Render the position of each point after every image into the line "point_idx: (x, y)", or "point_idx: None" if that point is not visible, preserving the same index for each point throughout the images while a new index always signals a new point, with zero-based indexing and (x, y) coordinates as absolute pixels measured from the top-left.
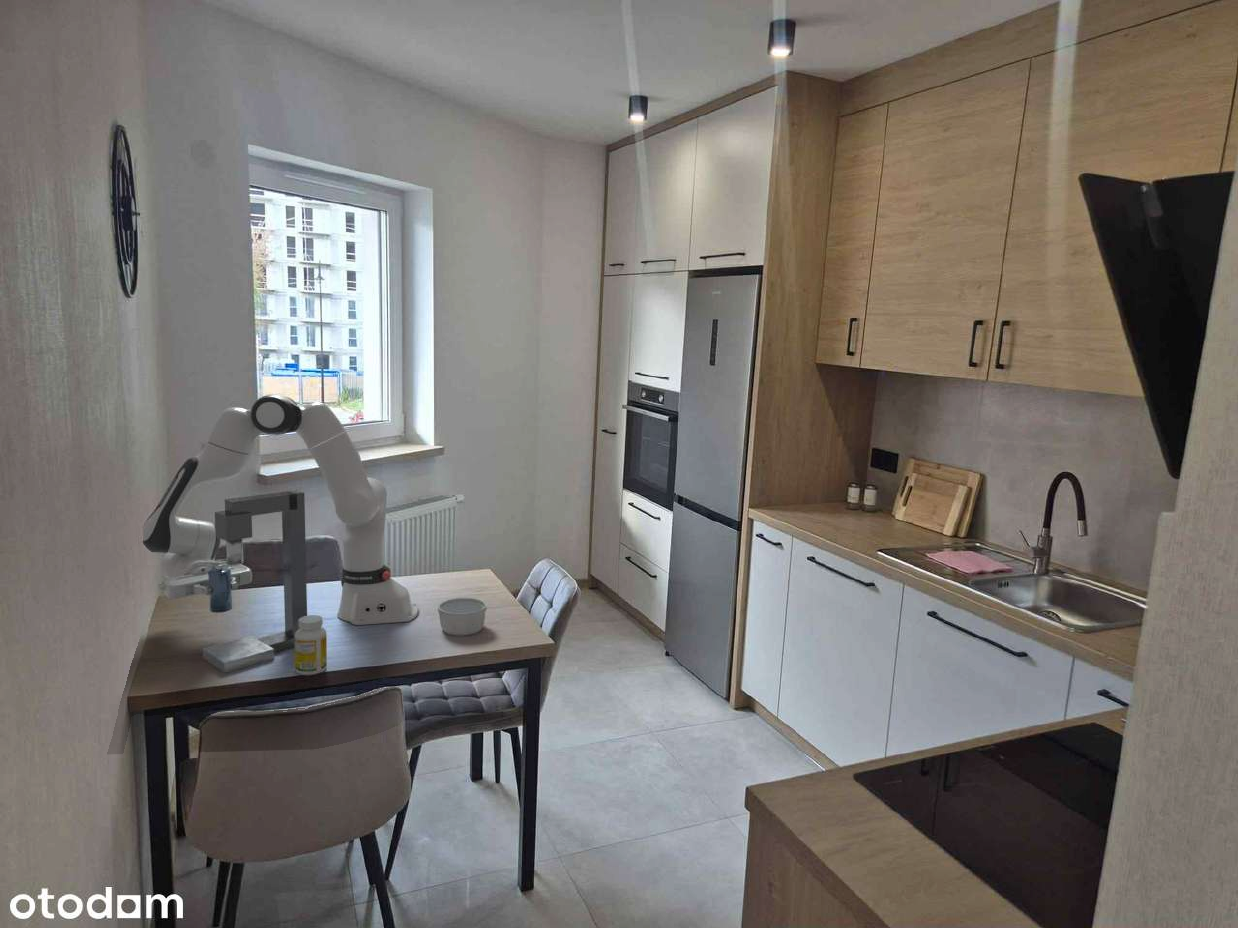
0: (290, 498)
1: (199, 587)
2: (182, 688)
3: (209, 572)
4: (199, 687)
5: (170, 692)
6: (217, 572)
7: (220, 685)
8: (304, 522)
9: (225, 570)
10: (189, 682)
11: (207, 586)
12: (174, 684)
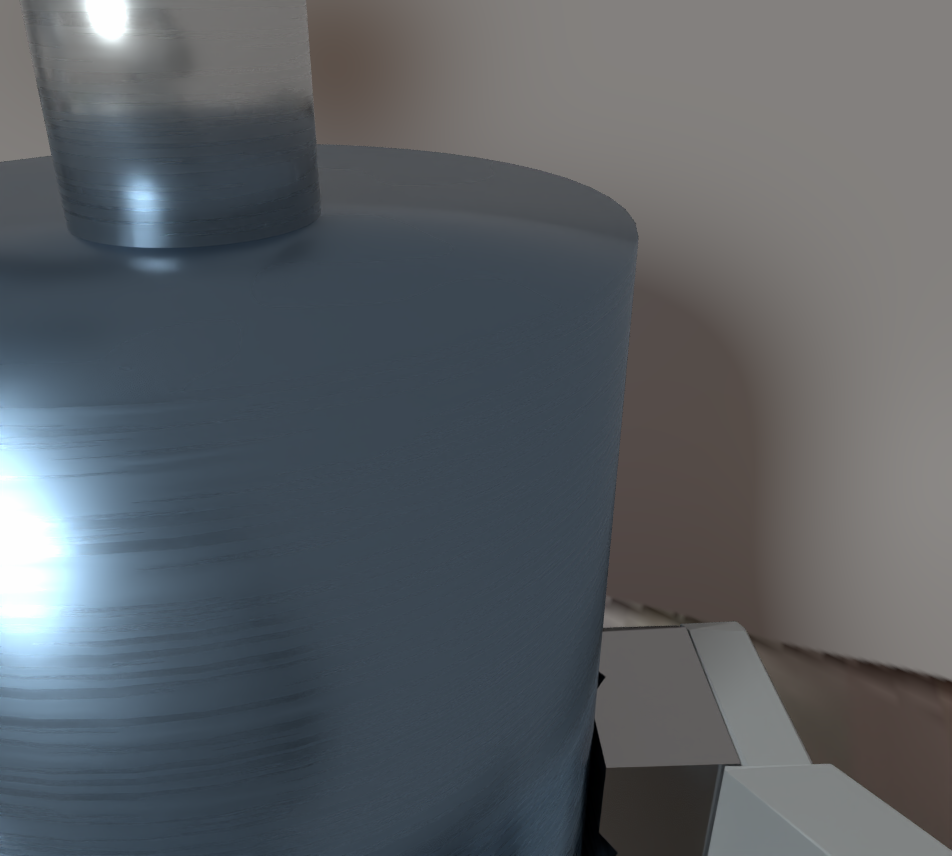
0: None
1: (910, 829)
2: (871, 693)
3: (595, 234)
4: (769, 654)
5: (941, 686)
6: (361, 182)
7: (654, 617)
8: None
9: (22, 195)
10: (830, 742)
11: (639, 750)
12: (933, 770)
